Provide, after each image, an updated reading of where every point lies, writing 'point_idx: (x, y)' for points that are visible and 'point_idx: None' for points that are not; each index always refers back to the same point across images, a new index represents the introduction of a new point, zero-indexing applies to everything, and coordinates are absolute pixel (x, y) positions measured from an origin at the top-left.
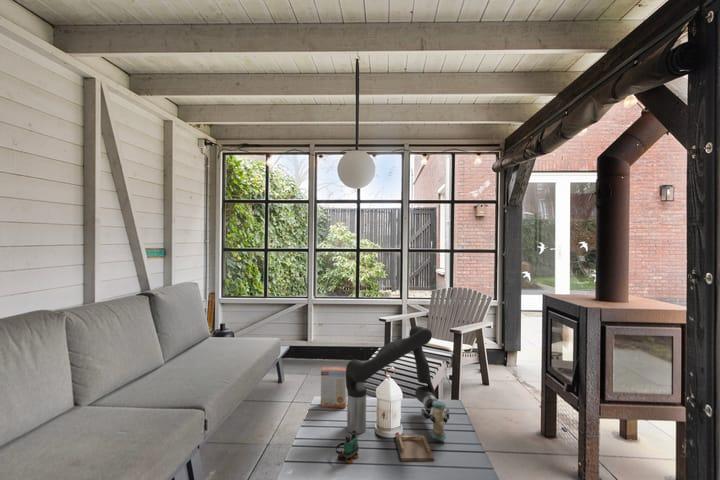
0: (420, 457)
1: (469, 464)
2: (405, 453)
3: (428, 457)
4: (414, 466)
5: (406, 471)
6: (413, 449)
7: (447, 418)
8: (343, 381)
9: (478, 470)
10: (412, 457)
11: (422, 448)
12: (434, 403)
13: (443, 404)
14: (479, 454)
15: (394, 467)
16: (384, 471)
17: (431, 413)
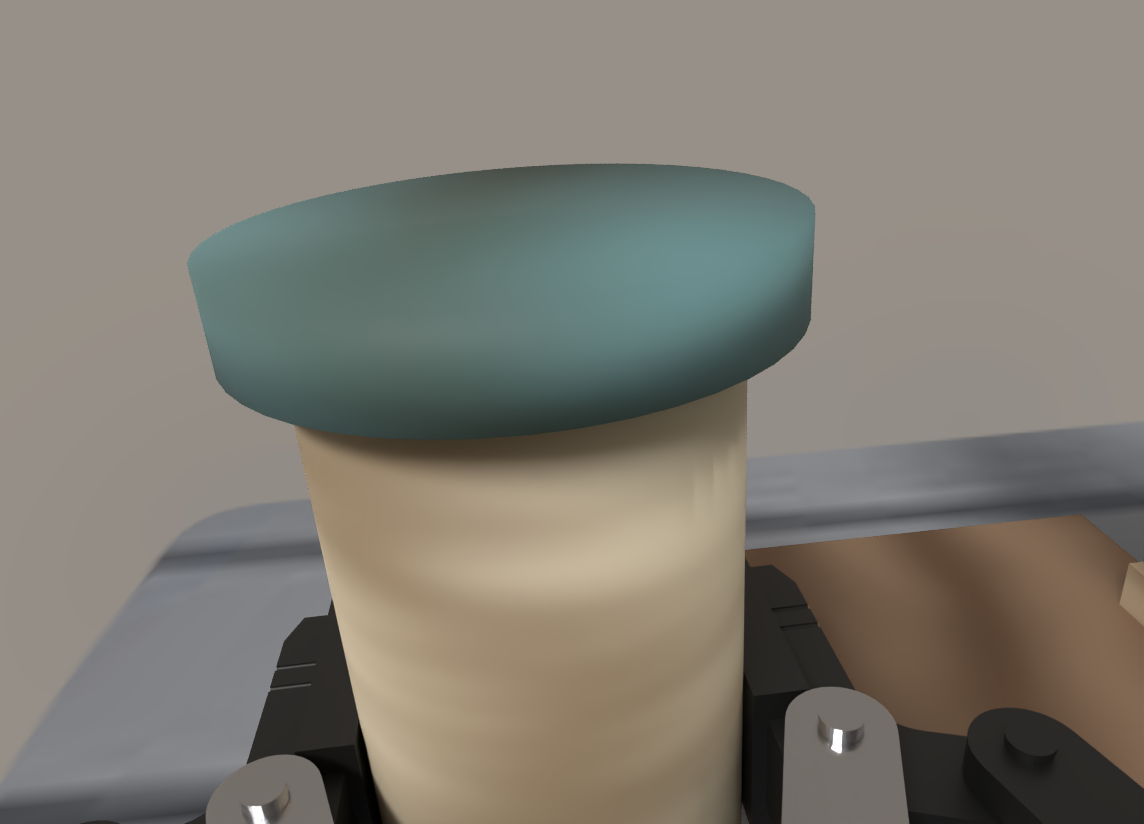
0: (863, 544)
1: (312, 579)
2: (1078, 577)
3: (768, 551)
4: (897, 502)
5: (947, 454)
6: (1014, 658)
7: (287, 638)
8: None
9: (274, 525)
10: (957, 535)
11: (886, 691)
12: (712, 200)
13: (327, 214)
14: (32, 755)
15: (1084, 474)
16: (1139, 436)
17: (840, 773)
